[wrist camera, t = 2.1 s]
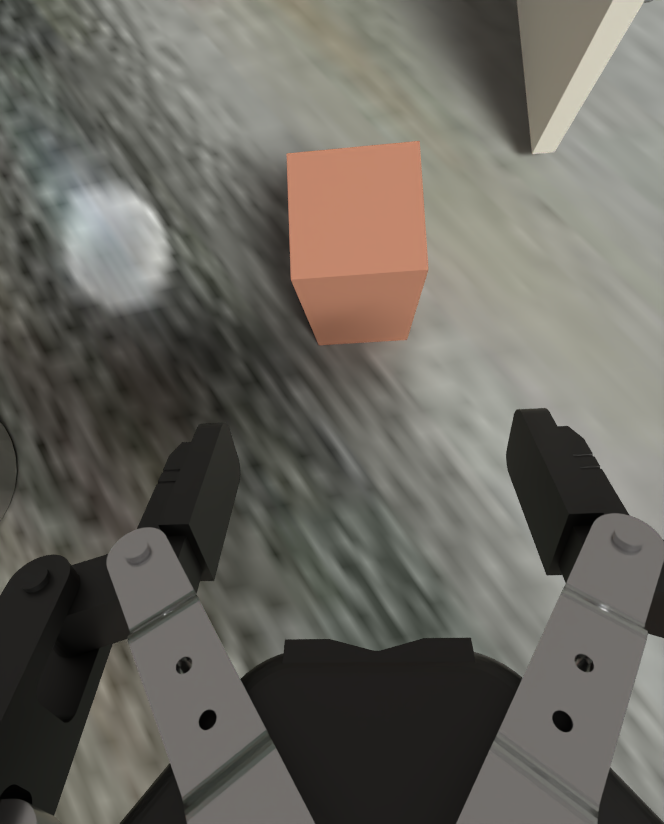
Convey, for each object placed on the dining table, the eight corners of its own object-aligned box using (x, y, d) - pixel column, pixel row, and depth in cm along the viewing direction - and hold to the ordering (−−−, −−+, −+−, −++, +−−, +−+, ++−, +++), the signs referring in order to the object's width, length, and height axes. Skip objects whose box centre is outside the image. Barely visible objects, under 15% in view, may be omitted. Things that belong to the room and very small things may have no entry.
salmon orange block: (318, 345, 26) (290, 279, 17) (315, 261, 27) (286, 153, 17) (406, 339, 26) (428, 269, 16) (401, 255, 26) (419, 141, 17)
